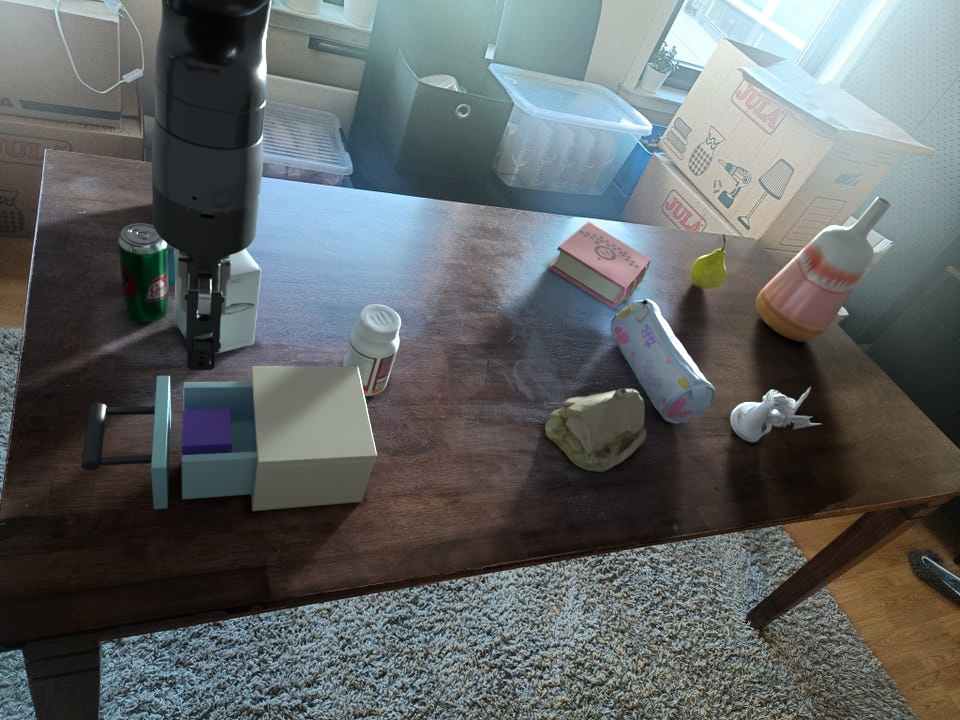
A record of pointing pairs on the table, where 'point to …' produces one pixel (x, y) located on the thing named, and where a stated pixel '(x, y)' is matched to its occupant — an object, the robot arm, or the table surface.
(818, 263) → the vase
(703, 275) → the fruit
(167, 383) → the drawer
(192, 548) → the table surface
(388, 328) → the pill bottle
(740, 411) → the figurine
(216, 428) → the purple cube
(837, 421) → the table surface
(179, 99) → the robot arm
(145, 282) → the soda can
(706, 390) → the pencil case
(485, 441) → the table surface
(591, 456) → the beige rock
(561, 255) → the book
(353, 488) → the block
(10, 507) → the table surface
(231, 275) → the white packaging box
